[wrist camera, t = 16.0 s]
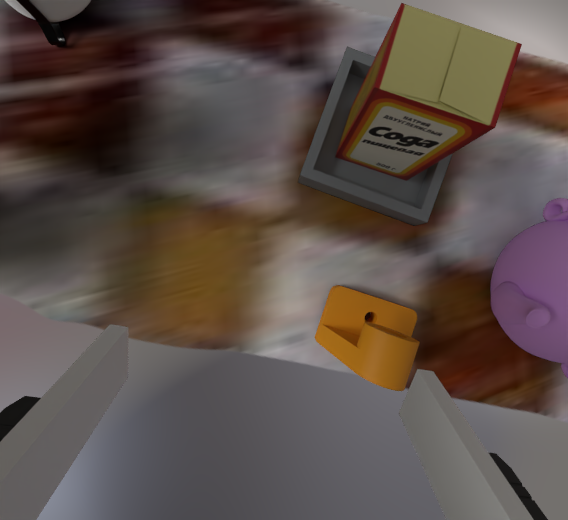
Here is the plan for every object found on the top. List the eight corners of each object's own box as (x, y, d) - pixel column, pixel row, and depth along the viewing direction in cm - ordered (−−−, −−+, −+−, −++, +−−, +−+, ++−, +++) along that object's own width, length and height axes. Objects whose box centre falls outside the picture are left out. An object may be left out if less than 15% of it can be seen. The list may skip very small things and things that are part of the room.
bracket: (409, 308, 40) (467, 330, 28) (392, 361, 40) (442, 406, 28) (331, 282, 39) (354, 293, 27) (313, 335, 39) (329, 369, 27)
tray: (297, 182, 39) (299, 175, 36) (340, 65, 39) (347, 46, 36) (414, 225, 39) (427, 222, 36) (456, 109, 39) (474, 95, 36)
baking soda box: (335, 157, 38) (376, 84, 22) (350, 107, 38) (403, -2, 22) (406, 180, 38) (498, 125, 22) (422, 131, 38) (525, 40, 22)
